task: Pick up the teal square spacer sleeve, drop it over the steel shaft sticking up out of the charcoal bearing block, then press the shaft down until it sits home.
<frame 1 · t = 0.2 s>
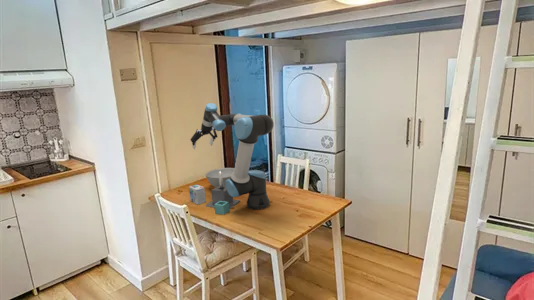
hand: (202, 146, 239), 36 cm above the table, tool tilted 35°, fingers open, 13 cm apart
light bulb box: (198, 201, 231), on the table
decorative bowl: (224, 187, 257), on the table
bearing block: (223, 204, 223), on the table
steel shaft: (221, 183, 220), point 15 cm above the table, slide at 5.0 cm
spacer sleeve: (222, 212, 209), on the table
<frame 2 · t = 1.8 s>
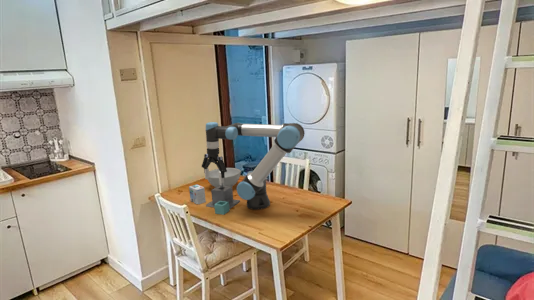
hand: (214, 180, 208), 20 cm above the table, tool pointing down, fingers open, 13 cm apart
nothing on the table moved.
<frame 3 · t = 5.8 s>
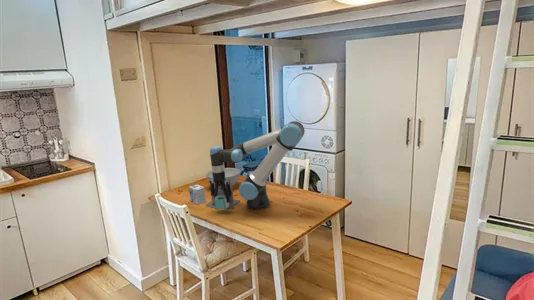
hand: (222, 206, 208), 4 cm above the table, tool pointing down, fingers closed on spacer sleeve, 6 cm apart
spacer sleeve: (222, 207, 209), point 3 cm above the table, touching gripper
everything else where it was.
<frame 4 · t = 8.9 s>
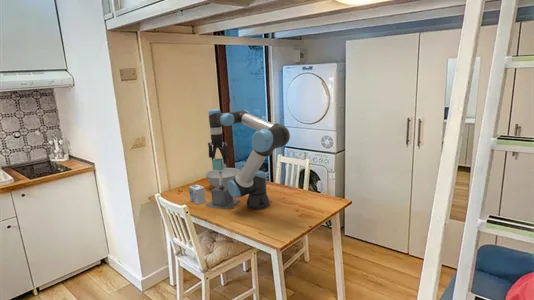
hand: (219, 168, 218), 25 cm above the table, tool pointing down, fingers closed on spacer sleeve, 6 cm apart
spacer sleeve: (219, 168, 218), point 25 cm above the table, touching gripper
everything else where it was.
when the fingers open (12 cm above the table, at t = 12.0 s): spacer sleeve stays where it is, resting on bearing block.
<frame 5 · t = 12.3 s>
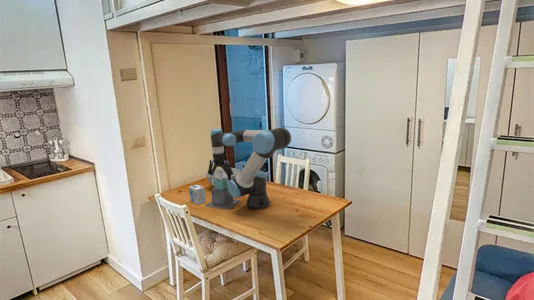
hand: (221, 184, 220), 14 cm above the table, tool pointing down, fingers open, 11 cm apart
spacer sleeve: (221, 188, 221), point 11 cm above the table, touching bearing block
everything else where it was.
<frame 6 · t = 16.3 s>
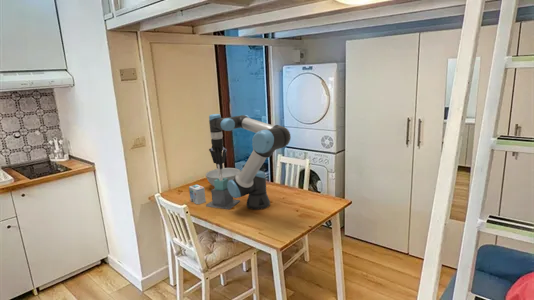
hand: (220, 173, 218), 21 cm above the table, tool pointing down, fingers closed
steel shaft: (221, 185, 220), point 13 cm above the table, slide at 3.4 cm, touching gripper
everything else where it was.
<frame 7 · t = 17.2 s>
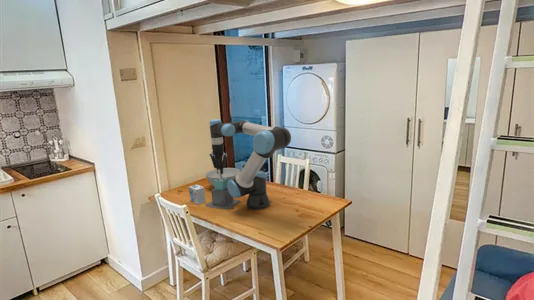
hand: (220, 178, 219), 18 cm above the table, tool pointing down, fingers closed
steel shaft: (221, 190, 221), point 10 cm above the table, slide at 0.0 cm, touching gripper
everything else where it was.
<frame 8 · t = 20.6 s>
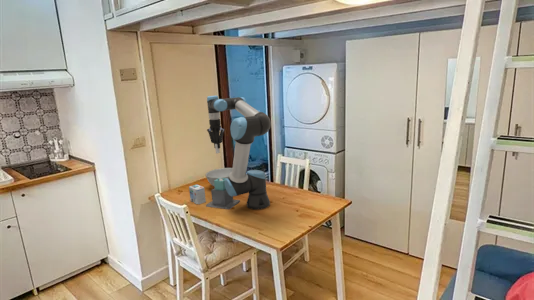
hand: (217, 152, 229), 32 cm above the table, tool pointing down, fingers closed
steel shaft: (221, 190, 221), point 10 cm above the table, slide at 0.0 cm
everything else where it was.
at the end: steel shaft slide at 0.0 cm; spacer sleeve 0.0 cm off-centre on the bearing block, point 11.2 cm above the bearing block's base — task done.
